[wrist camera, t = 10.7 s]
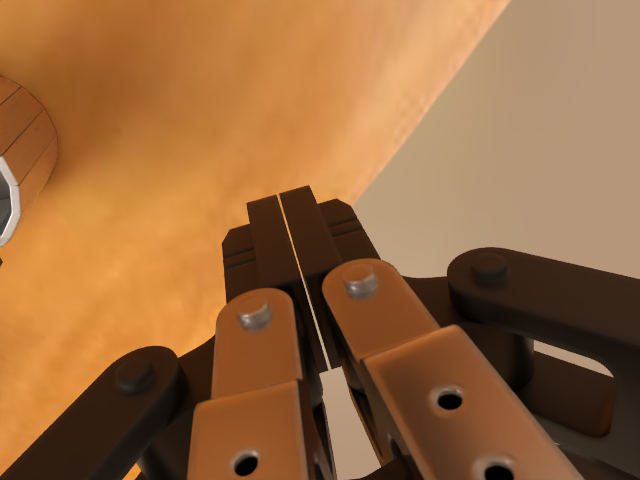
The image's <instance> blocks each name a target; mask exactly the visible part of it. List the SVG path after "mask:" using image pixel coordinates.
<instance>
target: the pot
mask: <svg viewBox="0 0 640 480" xmlns="http://www.w3.org/2000/svg"><path fill="white" fill-rule="evenodd" d="M57 159H58V144H57V134H56V130H55V128H54V126H53V124H52V122H51V120H50V118H49V116H48V114H47V112H46V110H45V109H44V107H43V106H42V105H41V104H40V103H39V102H38V101H37V100H36V99H35V98H34V97H33V96H32V95H31V94H29V93H28V92H27V91H26V90H25V89H24V88H23V87H21V86H20V85H18V84H16V83H14V82H12V81H10V80H8V79H6V78H4V77H2V76H0V248H1V247H2V246H4V245H5V244H6V243H7V242H9V241H10V239H11V238H12V237H13V235H14V234H15V232H16V230H17V229H18V227H19V226H20V224H21V222H22V221H23V219H24V217H25V216H26V214H27V213H28V211H29V209H30V208H31V206H32V205H33V203H34V201H35V200H36V198H37V197H38V195H39V193H40V192H41V190H42V188H43V187H44V185H45V184H46V182H47V180H48V179H49V177H50V175H51V173H52V170H53V168H54V166H55V164H56V162H57ZM2 263H3V261H2V260H1V258H0V266H1V265H2Z"/></svg>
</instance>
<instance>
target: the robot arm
mask: <svg viewBox="0 0 640 480" xmlns="http://www.w3.org/2000/svg"><path fill="white" fill-rule="evenodd" d="M279 195H280V199H281V203H282V206H283V210H284V213H285V216H286V220H287V223H288V227H289V230H290V234H291V237H292V241H293V244H294V248H295V251H296V255H297V258H298V261H299V265H300V268H301V271H302V275H303V278H304V281H305V284H306V288H307V291H308V294H309V298H310V301H311V304H312V307H313V310H314V314H315V317H316V320H317V323H318V327H319V330H320V333H321V336H322V339H323V343H324V346H325V349H326V353H327V356H328V359H329V362H330V366H331V369H334V368H337V367H341V366H342V369H343V371H344V375H345V377H346V381H347V385H348V388H349V392H350V396H351V399H352V401H353V404H354V406H355V408H356V411H357V413H358V415H359V417H360V420H361V422H362V424H363V426H364V429H365V431H366V433H367V435H368V438H369V440H370V442H371V444H372V447H373V449H374V451H375V453H376V456H377V458H378V460H379V463H380V465H381V468H379V469H377V470H376V471H374V472H373V473H371V474H369V475H367V476H365V477H363V478H360V479H351V480H640V279H636V278H631V277H627V276H623V275H618V274H614V273H610V272H605V271H601V270H596V269H592V268H588V267H584V266H579V265H575V264H571V263H566V262H562V261H557V260H553V259H548V258H544V257H540V256H535V255H531V254H527V253H522V252H518V251H514V250H509V249H504V248H494V247H486V248H478V249H474V250H470V251H467V252H465V253H463V254H461V255H459V256H458V257H456V258H455V259H454V260H453V261H452V262H451V263H450V265H449V266H448V269H447V276H446V277H433V278H411V277H405V276H402V275H400V273H399V272H398V271H397V269H396V268H395V267H394V266H393V265H391V264H390V263H388V262H386V261H383V260H381V258H380V257H379V255H378V253H377V251H376V250H375V248H374V246H373V244H372V243H371V241H370V239H369V237H368V236H367V234H366V232H365V230H364V229H363V227H362V225H361V223H360V222H359V220H358V219H357V216H356V214H355V213H354V211H353V209H352V207H351V206H350V205H348V204H346V203H344V202H342V201H340V200H338V199H333V200H330V201H326V202H323V203H319V204H317V202H316V200H315V197H314V195H313V193H312V191H311V188H310V186H309V185H307V186H304V187H300V188H297V189H293V190H290V191H286V192H283V193H279ZM246 204H247V210H248V216H249V221H250V224H247V225H244V226H240V227H237V228H233V229H230V230H229V232H228V234H227V236H226V237H225V239H224V241H223V242H222V250H223V258H224V259H223V263H224V277H225V290H226V303H227V304H226V305H225V306H224V308H223V309H222V310H221V311H220V313H219V315H218V317H217V321H216V333H215V335H214V336H213V337H212V338H211V339H209V340H208V341H207V342H205V343H204V344H202V345H201V346H199V347H197V348H196V349H194V350H192V351H190V352H188V353H186V354H185V355H183V356H181V357H179V358H177V356H176V354H175V353H174V352H173V351H172V350H171V349H169V348H167V347H163V346H149V347H144V348H140V349H137V350H134V351H132V352H130V353H128V354H126V355H124V356H122V357H121V358H119V359H118V360H116V361H115V362H114V363H112V364H111V365H110V366H109V367H108V368H107V369H106V370H105V371H104V372H103V373H102V374H101V375H100V376H99V377H98V378H97V379H96V380H95V381H94V382H93V383H92V384H91V385H90V386H89V387H88V388H87V389H86V390H85V391H84V392H83V393H82V394H81V395H80V396H79V397H78V398H77V399H76V400H75V401H74V402H73V403H72V404H71V405H70V406H69V407H68V408H67V409H66V410H65V411H64V412H63V413H62V414H61V415H60V416H59V417H58V418H57V420H56V421H55V422H54V423H53V424H52V425H51V426H50V427H49V428H48V429H47V430H46V431H45V432H44V433H43V434H42V435H41V436H40V437H39V438H38V439H37V440H36V441H35V442H34V443H33V444H32V445H31V446H30V447H29V448H28V449H27V450H26V451H25V452H24V453H23V454H22V455H21V456H20V457H19V458H18V459H17V460H16V461H15V462H14V463H13V464H12V465H11V466H10V467H9V468H8V469H7V470H6V471H5V472H4V473H3V474H2V475H1V476H0V480H122V479H123V478H124V477H125V476H126V474H127V473H128V472H129V471H130V469H131V468H132V467H133V466H134V464H135V463H137V465H138V466H139V468H140V469H141V472H140V474H139V475H138V476H137V478H136V479H135V480H337V474H336V469H335V463H334V457H333V451H332V445H331V439H330V433H329V427H328V421H327V416H326V410H325V405H324V402H323V399H322V395H323V388H322V383H321V380H320V376H319V373H322V372H325V371H328V368H327V364H326V360H325V357H324V353H323V350H322V347H321V343H320V340H319V336H318V333H317V330H316V326H315V322H314V319H313V316H312V312H311V309H310V305H309V302H308V299H307V295H306V291H305V288H304V285H303V281H302V278H301V274H300V271H299V268H298V264H297V261H296V258H295V254H294V251H293V248H292V245H291V241H290V238H289V235H288V231H287V228H286V225H285V221H284V218H283V215H282V211H281V208H280V205H279V202H278V198H277V195H273V196H269V197H266V198H262V199H259V200H255V201H252V202H248V203H246ZM534 340H537V341H539V342H543V343H546V344H548V345H552V346H555V347H558V348H561V349H564V350H567V351H570V352H573V353H576V354H579V355H582V356H585V357H588V358H591V359H593V360H596V361H597V362H599V363H601V364H602V365H604V366H605V367H606V368H607V369H608V370H609V371H610V372H611V373H612V375H613V377H614V378H613V377H610V376H607V375H604V374H601V373H598V372H595V371H592V370H589V369H587V368H584V367H581V366H578V365H575V364H572V363H569V362H566V361H563V360H560V359H557V358H554V357H551V356H549V355H545V354H543V353H540V352H537V351H534ZM555 443H557V444H555ZM558 444H559V445H558Z"/></svg>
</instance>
